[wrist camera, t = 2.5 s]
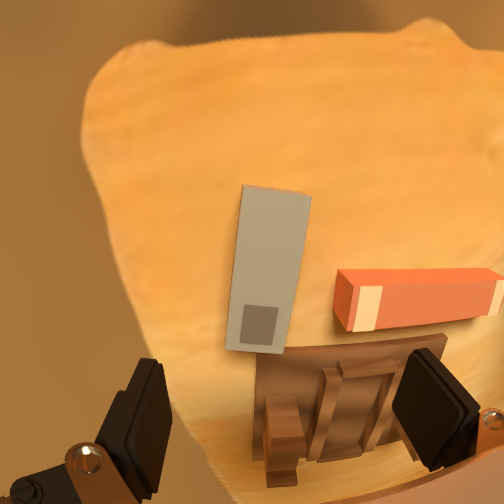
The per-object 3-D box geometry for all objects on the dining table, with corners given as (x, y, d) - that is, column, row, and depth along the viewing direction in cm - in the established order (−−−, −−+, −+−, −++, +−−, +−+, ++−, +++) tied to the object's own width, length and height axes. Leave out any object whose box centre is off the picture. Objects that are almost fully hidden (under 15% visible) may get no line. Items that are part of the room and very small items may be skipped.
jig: (257, 347, 28) (263, 411, 20) (442, 333, 29) (484, 373, 21) (252, 453, 33) (255, 507, 24) (401, 434, 34) (423, 475, 25)
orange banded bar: (337, 268, 27) (354, 287, 22) (484, 267, 27) (509, 280, 23) (331, 307, 28) (347, 332, 23) (476, 298, 28) (500, 313, 24)
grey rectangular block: (242, 183, 24) (243, 187, 19) (296, 191, 24) (312, 197, 19) (227, 316, 27) (224, 351, 22) (275, 321, 28) (283, 356, 22)
